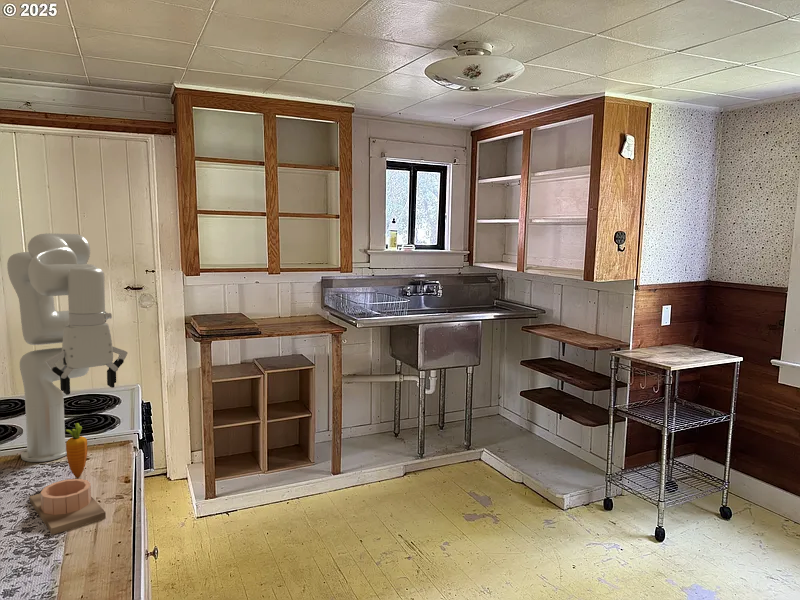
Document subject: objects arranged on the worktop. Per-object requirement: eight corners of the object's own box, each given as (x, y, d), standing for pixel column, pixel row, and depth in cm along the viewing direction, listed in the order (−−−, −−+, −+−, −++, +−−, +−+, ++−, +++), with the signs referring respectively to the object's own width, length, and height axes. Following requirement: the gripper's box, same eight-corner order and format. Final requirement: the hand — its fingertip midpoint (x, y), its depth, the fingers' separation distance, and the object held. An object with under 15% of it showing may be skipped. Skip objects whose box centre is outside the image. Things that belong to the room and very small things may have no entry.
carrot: (78, 483, 147) (76, 428, 145) (62, 480, 148) (60, 426, 146) (92, 475, 152) (91, 422, 150) (76, 473, 153) (75, 420, 151)
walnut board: (29, 502, 136) (29, 496, 136) (79, 488, 144) (79, 483, 144) (51, 534, 122) (51, 528, 122) (105, 518, 130) (105, 512, 130)
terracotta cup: (37, 503, 133) (36, 487, 133) (83, 490, 140) (82, 475, 140) (48, 519, 126) (47, 502, 126) (96, 504, 133) (95, 489, 133)
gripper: (120, 314, 139) (121, 380, 142) (40, 320, 127) (43, 392, 129) (131, 318, 134) (132, 387, 136) (49, 325, 122) (52, 400, 124)
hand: (89, 389), depth 133 cm, fingers open, 9 cm apart
